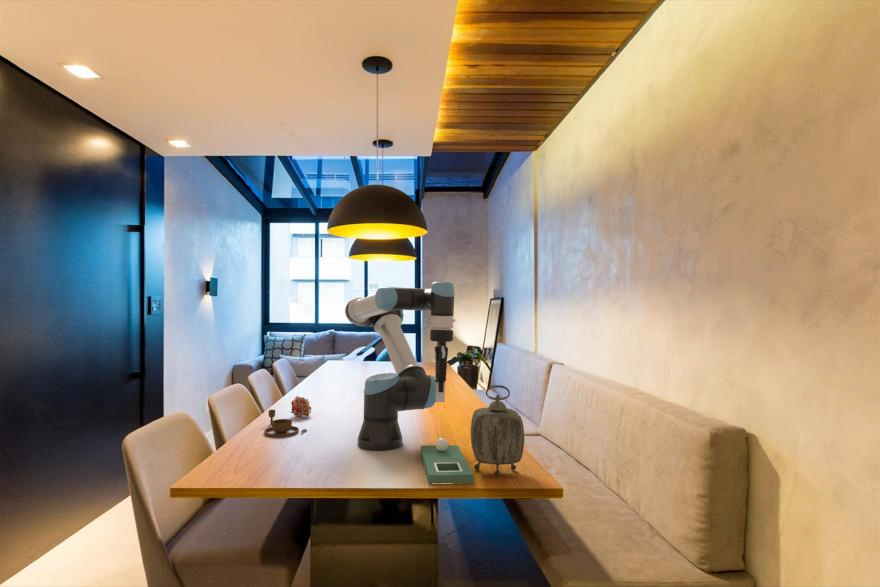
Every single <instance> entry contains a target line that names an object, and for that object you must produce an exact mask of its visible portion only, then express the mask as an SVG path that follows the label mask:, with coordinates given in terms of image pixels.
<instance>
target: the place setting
mask: <svg viewBox="0 0 880 587" xmlns="http://www.w3.org/2000/svg"><path fill="white" fill-rule="evenodd" d="M275 416H276V409H269V410H268V418H270V420H269V425H271V427H268V428H264V429H263V433H264V436H266V437H268V438H287V437H292V436H295V435H297V434H298V433H299V430H300V428H299V427H298V426H294V425H293V420H292V419H290V418H289V419H288V418H279V419H275V420H273V419H274V418H275ZM289 431H292V432H289ZM270 432H274V433H270ZM300 432H301V434H300V436H303V434H305V433H307V432H308V430H307V429H306V428H304V429H302V430H301V431H300Z"/></svg>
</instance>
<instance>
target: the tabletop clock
mask: <svg viewBox="0 0 880 587" xmlns="http://www.w3.org/2000/svg"><path fill="white" fill-rule="evenodd" d="M496 388H499V389H500V388H501V389H503V390H506V391H507V393H508V394H507V395H505V396H503V397H500V395H499V394H496V395H495V397H493V396H491V395H489V394H488V392H489V391H490V390H491V389H496ZM510 394H511V392H510V390H509V388H507V386H504V385H500V384H499V385H498V384H497V385H496V384H495V385H490V386H489V387H488V388H487V389H486V390H485V395H486V397H487V398H488V399H489V400H492V401H491V402H490V403H489V406H488V407H480V408H478V409H475V410H474V411H473V414H472V417H471V424H470V443H471V448H472V453H473V455H474V458H475V460H476V462H477V463H475V464H474V465H473V468H474V470H475V471H476V470H479V469H480V468H481V467H480V465H481V463H482V464H487V465H495V466H496V467H495V468H496V470H495V471H494V475H495V477H500V476H501V471H500V468H499V465H504V466H505V465H510V469H511V471H515V470H516V469H517V465H516V464H517V463H520V462H521V460H522V458H523V454H524V447H525V430H524V422H523V419H522V417H521V415H520V414H519V413H518V412H517V411H516V410H514V409H513V408H508V407H507V406H506V405H505V403H504V402H503V400H507V399H508V398H509V397H510V396H511V395H510Z"/></svg>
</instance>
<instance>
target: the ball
mask: <svg viewBox="0 0 880 587" xmlns="http://www.w3.org/2000/svg"><path fill="white" fill-rule="evenodd" d="M448 445H449V442H448V440H447V439H446V438H443V437H439V438H438V439H436V442H435V445H434V446H436V449H437V450H438V451H441V452H443V451H445V450H447V448H448Z"/></svg>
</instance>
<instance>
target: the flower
mask: <svg viewBox="0 0 880 587" xmlns="http://www.w3.org/2000/svg"><path fill="white" fill-rule="evenodd" d="M290 403H291V404H290V405H291V411H288V412H289V413H291V414H292V415H293V416H295V417H297V418H298V419H299V418H300V417H303V416H305V417H308V416H309V415H310V414H312V406H310V405H311V404H310V400H309V399H308V398H307V399H306V398H305V397H301V396H298V395H297V396H294V399H293V400H291V402H290Z"/></svg>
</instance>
